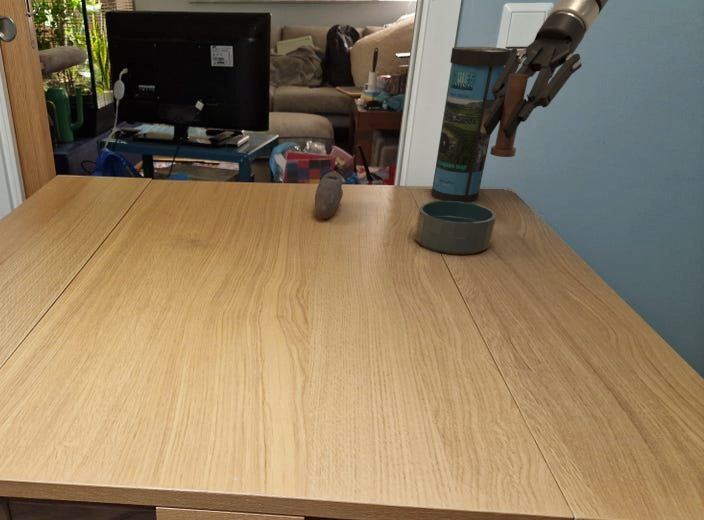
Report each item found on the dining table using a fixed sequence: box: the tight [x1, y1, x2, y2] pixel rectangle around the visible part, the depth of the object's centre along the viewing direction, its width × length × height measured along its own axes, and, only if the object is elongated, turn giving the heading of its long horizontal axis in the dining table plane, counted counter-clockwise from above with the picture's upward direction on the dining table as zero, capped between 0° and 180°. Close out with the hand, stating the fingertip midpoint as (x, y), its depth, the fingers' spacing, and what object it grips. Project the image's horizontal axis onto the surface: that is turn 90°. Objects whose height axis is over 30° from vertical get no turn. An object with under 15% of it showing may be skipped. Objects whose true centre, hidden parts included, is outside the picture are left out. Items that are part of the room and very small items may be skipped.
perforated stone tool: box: [314, 171, 344, 219], centre depth 136 cm, size 15×5×7 cm, turn 162°
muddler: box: [489, 73, 530, 158], centre depth 122 cm, size 4×4×14 cm
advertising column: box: [431, 46, 512, 203], centre depth 141 cm, size 11×11×30 cm
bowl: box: [414, 200, 497, 256], centre depth 121 cm, size 13×13×6 cm
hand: (496, 131), depth 121 cm, fingers closed on muddler, 3 cm apart
